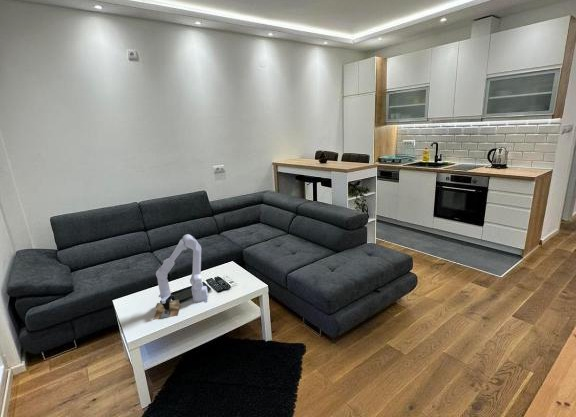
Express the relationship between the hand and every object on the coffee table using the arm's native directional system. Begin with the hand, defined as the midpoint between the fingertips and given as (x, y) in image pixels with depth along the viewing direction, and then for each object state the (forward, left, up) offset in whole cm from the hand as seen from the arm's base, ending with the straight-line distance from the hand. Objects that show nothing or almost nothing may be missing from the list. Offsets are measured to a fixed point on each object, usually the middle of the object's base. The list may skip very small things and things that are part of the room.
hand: (168, 307), depth 188 cm
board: (0, +4, -1) cm, 4 cm away
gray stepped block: (0, +8, -1) cm, 8 cm away
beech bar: (0, 0, -1) cm, 1 cm away
